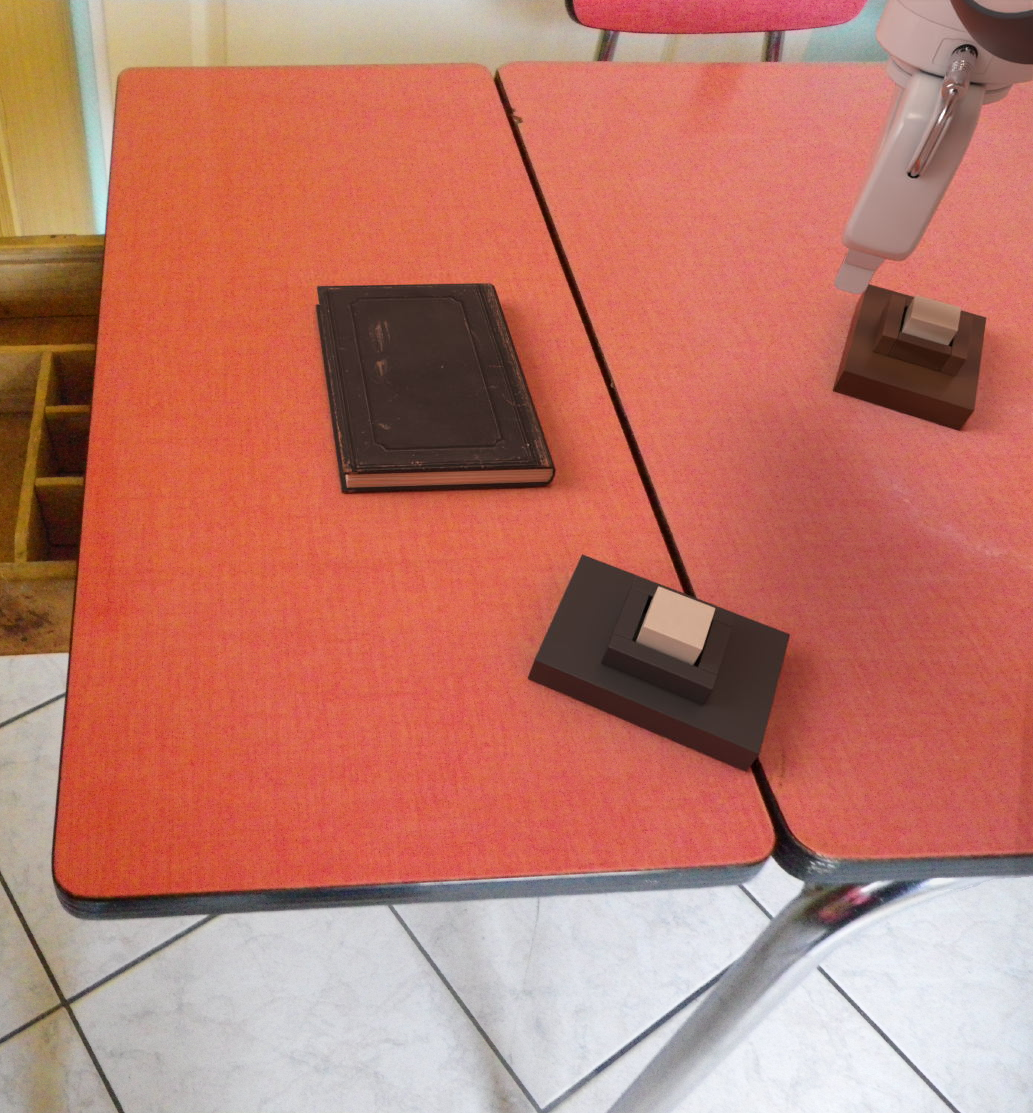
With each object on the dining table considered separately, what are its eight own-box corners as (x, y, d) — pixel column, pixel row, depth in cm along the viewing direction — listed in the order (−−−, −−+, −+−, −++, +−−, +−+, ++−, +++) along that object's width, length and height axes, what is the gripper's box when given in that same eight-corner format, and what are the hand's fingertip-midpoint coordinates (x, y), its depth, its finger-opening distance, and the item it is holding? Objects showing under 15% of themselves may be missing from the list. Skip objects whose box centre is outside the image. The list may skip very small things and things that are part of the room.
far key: (905, 311, 87) (915, 294, 86) (950, 324, 86) (961, 307, 85) (900, 334, 85) (911, 317, 83) (946, 347, 84) (958, 330, 82)
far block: (856, 303, 94) (876, 266, 91) (973, 337, 91) (998, 299, 88) (832, 390, 85) (853, 352, 82) (959, 430, 83) (987, 393, 80)
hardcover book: (341, 493, 76) (344, 471, 74) (315, 307, 91) (317, 285, 89) (551, 487, 77) (558, 465, 75) (492, 304, 92) (496, 282, 90)
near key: (706, 624, 65) (715, 607, 63) (692, 665, 62) (702, 649, 61) (650, 602, 66) (658, 585, 64) (635, 642, 64) (643, 626, 62)
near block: (777, 653, 68) (801, 617, 65) (746, 772, 62) (771, 738, 59) (574, 574, 72) (588, 536, 69) (527, 678, 66) (540, 642, 63)
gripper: (1030, 110, 46) (890, 353, 57) (1053, -35, 58) (934, 189, 69) (884, 78, 48) (775, 319, 59) (935, -56, 60) (837, 165, 71)
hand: (861, 248), depth 64 cm, fingers open, 8 cm apart
